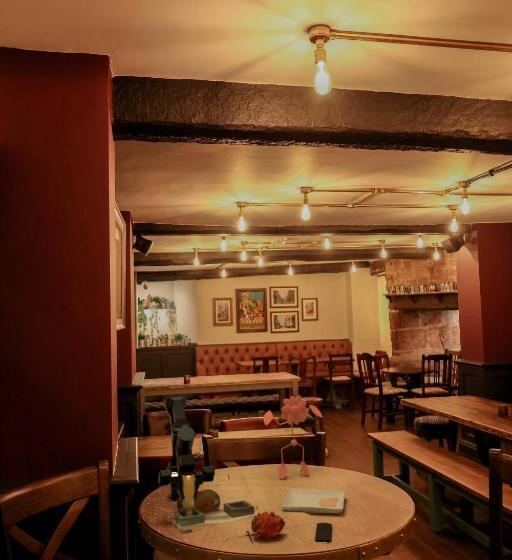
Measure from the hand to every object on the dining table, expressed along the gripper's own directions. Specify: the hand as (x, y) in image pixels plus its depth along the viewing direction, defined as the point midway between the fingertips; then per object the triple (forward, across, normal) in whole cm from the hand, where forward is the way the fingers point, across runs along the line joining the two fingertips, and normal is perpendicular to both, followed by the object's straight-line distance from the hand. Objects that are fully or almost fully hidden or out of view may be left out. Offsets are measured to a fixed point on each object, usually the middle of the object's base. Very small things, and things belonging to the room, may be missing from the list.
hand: (189, 499), depth 189 cm
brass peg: (+4, 0, +6) cm, 7 cm away
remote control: (+21, +39, -8) cm, 45 cm away
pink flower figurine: (-24, +51, +37) cm, 67 cm away
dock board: (+4, +10, +8) cm, 13 cm away
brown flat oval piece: (-1, +4, +13) cm, 14 cm away
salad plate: (+2, +46, +11) cm, 47 cm away
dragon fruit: (+19, +22, -6) cm, 30 cm away
